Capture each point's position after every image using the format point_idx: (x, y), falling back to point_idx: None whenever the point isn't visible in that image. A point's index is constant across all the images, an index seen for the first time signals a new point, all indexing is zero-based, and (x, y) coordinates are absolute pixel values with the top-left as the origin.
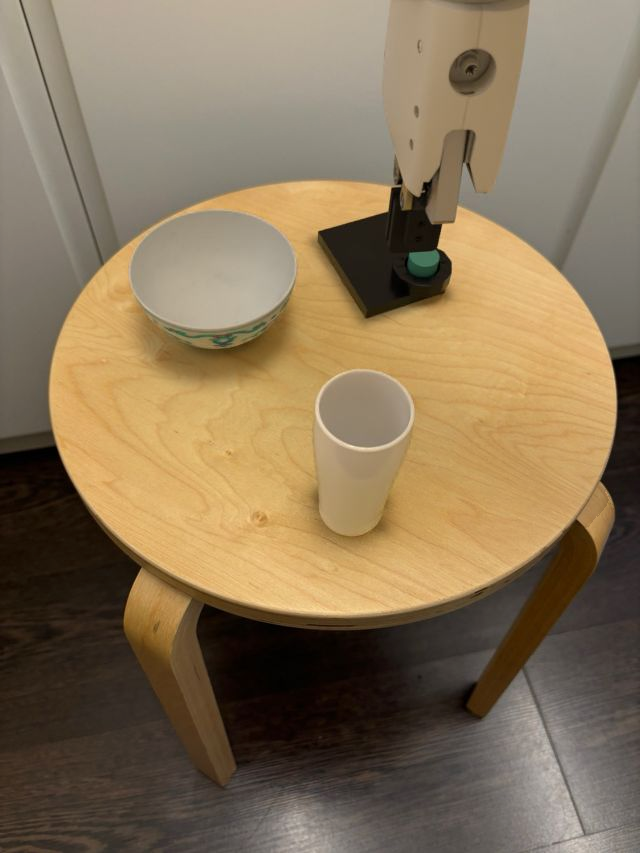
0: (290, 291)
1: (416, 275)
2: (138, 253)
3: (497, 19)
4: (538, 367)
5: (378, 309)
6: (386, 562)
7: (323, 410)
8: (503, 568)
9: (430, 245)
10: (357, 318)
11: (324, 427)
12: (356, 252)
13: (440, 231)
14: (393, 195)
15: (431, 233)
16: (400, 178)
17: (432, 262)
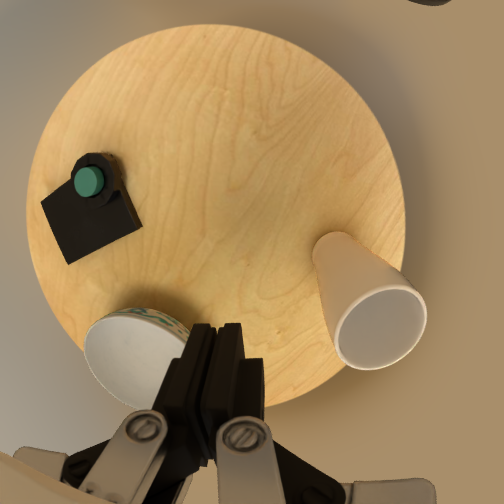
0: (156, 323)
1: (102, 186)
2: (140, 407)
3: None
4: (195, 74)
5: (135, 217)
6: (377, 231)
7: (343, 341)
8: (388, 146)
9: (240, 338)
10: (143, 233)
11: (393, 362)
12: (81, 235)
13: (235, 348)
14: (207, 460)
15: (261, 380)
16: (189, 479)
17: (92, 174)
